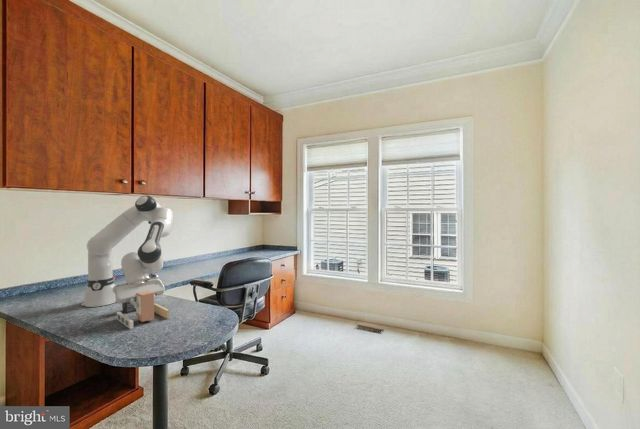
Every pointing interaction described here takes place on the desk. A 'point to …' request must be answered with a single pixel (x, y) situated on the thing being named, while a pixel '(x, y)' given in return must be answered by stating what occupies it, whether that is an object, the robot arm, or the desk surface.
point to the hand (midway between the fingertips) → (145, 305)
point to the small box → (128, 307)
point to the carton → (145, 306)
